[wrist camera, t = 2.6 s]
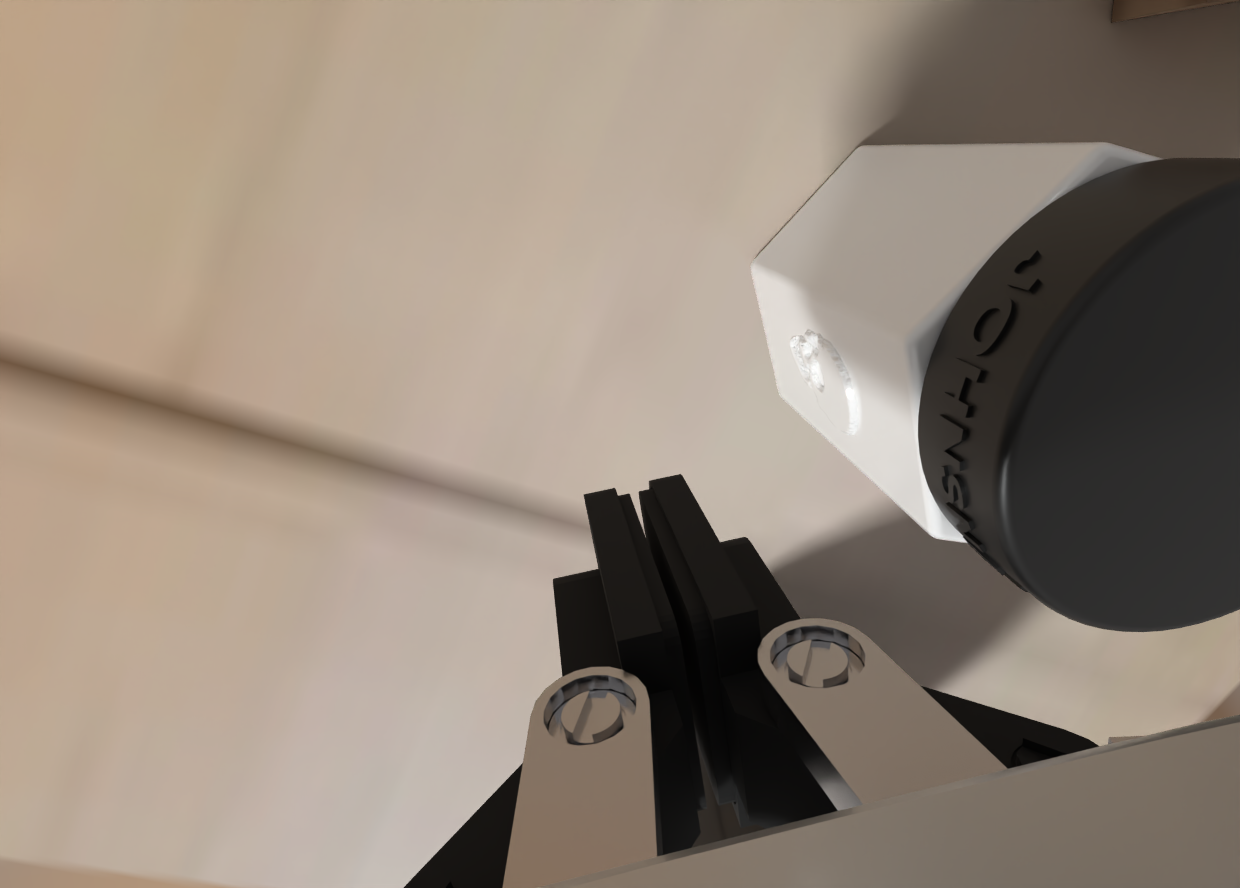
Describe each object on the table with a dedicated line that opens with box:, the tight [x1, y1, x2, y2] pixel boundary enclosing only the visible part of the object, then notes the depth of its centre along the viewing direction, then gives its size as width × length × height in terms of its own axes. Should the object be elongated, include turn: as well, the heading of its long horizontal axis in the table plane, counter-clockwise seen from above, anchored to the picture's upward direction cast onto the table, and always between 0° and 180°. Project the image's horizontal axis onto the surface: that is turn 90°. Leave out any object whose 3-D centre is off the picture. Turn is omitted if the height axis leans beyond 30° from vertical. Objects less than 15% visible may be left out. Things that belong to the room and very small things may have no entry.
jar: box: [750, 142, 1240, 632], centre depth 17 cm, size 9×8×12 cm
